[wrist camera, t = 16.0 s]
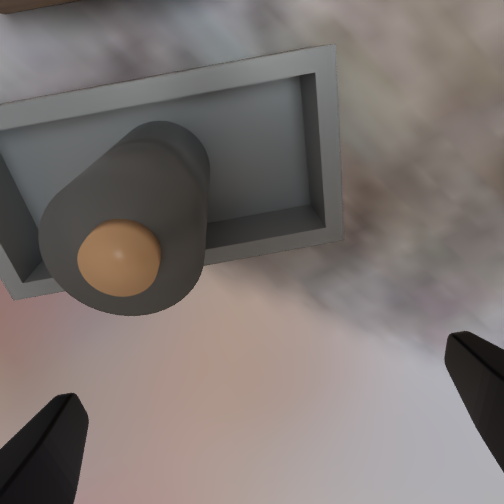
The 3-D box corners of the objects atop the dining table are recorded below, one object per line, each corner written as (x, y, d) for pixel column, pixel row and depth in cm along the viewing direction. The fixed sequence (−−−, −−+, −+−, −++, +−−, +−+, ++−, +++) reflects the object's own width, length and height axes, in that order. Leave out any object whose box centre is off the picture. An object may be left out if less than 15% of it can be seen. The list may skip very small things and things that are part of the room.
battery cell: (198, 112, 16) (180, 166, 8) (218, 202, 19) (218, 316, 10) (103, 130, 16) (-9, 201, 8) (133, 217, 19) (68, 343, 10)
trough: (310, 46, 16) (335, 43, 13) (322, 208, 20) (344, 239, 17) (-27, 108, 17) (-92, 122, 13) (48, 258, 20) (13, 300, 17)
